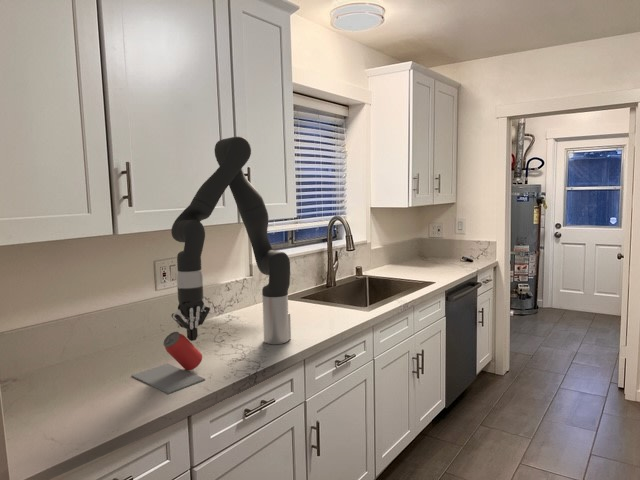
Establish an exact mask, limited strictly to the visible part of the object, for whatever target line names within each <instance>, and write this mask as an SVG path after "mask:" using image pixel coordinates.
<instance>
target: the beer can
mask: <svg viewBox="0 0 640 480" xmlns="http://www.w3.org/2000/svg"><path fill="white" fill-rule="evenodd" d="M163 346H164V348H165V351H166V352H167V353H168V354H169V355H170V357H172V358H173V359H174V360H175V361H176V362H177V363H178V364H179V365H180V366H181V367H182V368H183V370H185V371H192V370H194V369H196V368H197V367H198V366H199V365H200V364H201V363H202V361H203V355H202V353H201V352H200V351H199V350H198V349H197V347H196V346H195V345H194V344H193V343H192V341H190V340H189V339H188V338H187V336H185V335H184V334H182V333H180V332H179V331H173V332H171V333H169V334H168V335H166V337H165V338H164V340H163Z"/></svg>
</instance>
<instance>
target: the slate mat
mask: <svg viewBox="0 0 640 480" xmlns="http://www.w3.org/2000/svg"><path fill="white" fill-rule="evenodd" d="M131 377H132V378H134V379H136V380H139V381H140V382H143V383H144V384H146V385H149V386H150V387H153V388H155V389H157V390H159V391H161V392H163V393H165V394H168V395H170V394H173V393H176V392H178V391H181V390H183V389H185V388H188V387H190V386H191V387H192V386H193V385H196V384H199V383H200V382H203V381H205V380H206V378H204V377H201V376H200V375H197V374H195V373H193V372H190V371H188V370H185V369H184V368H183V369H182V368H180V367H177V366H175V365H173V364H170V363H165V364H162V365H161V364H160V365H157V366H154V367H152V368H149V369H146V370H144V371H140V372H136V373H134V374H131Z"/></svg>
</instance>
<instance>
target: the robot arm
mask: <svg viewBox="0 0 640 480" xmlns="http://www.w3.org/2000/svg"><path fill="white" fill-rule="evenodd" d="M251 155H252V148H251V144H250V142H249V141H248V140H247V138H245V137H243V136H231V137H227V138H222V139H220V140H218V141H216V143H215V145H214V157H215V159H216V162H217V164H218V168H217V169H216V170H215V171H214V172H213V173H212V174H211V175H210V176H209V177H208V178H207V180H205V181H204V182H203V183H202V185H200V187H199V189H198V190H197V191H196V193H195V195H194V196H193V199H192V200H191V201H190V204H189V205H188V206H187V207H186V208H185V209H183V211H182V212H181V213H180V214H179V215H178V216H177V217H176V219H175V220H174V222H173V223H172V226H171V231H170V232H171V236H172V238H173V240H175V241H176V242H179V243H184V245H183V250H181V251H179V252H178V254H177V255H176V256H177V257H176V261H177V262H176V263H177V275H176V286H177V300H178V306H177V310H176V311H175V313H171V318H172V319H173V320H174V321H175V322H176V323H177V324H178V326H180V327H181V328H183V329H186V335H187V336H186V338H187V339H188V340H189V341H190V342H195V341H197V338H198V335H199V334H198V328H199V326H200V325H201V326H202V325H203V323H204V322H205V320H206V318H207V317H208V315H209V313H210V311H211V308H210V306H206V305H205V303H204V300H203V299H204V283H203V282H204V281H203V280H204V279H203V273H202V272H203V271H202V253H203V248H204V243H205V239H206V230H205V227H204V225H203V223H202V221H204V220H206V219H208V218H210V216H211V215H212V213H213V212H214V210H215V208H216V206H217V205H218V203H219V201H220V200H221V197H222V195H223V194H224V192H225V191H226V190H227V189H228V186H229V189H230V192H231V194H232V196H233V198H234V201H235V204H236V207H237V210H238V213H239V215H240V218H241V220H242V223H243V226H244V228H245V230H246V233H247V236H248V239H249V241H250V245H251V248H252V252H253V256H254V259H255V263H256V267H257V269H258V270H259V272H260V273H261V274H263V275H266V276H268V284H267V285H264V286H263V287H262V289H261V290H262V292H261V293H262V319H263V321H262V323H263V327H262V328H263V342H264V343H265V344H269V345H282V344H285V343H288V342H289V341H290V340H291V339H292V333H291V332H292V330H291V329H292V327H291V314H290V313H289V293H288V292H289V288H290V285H291V261H290V258H289V256H288V254H287V253H286V252H283V251H280V250H275V249H273V247H272V245H271V242H270V239H269V236H268V230H269V229H268V228H269V227H268V226H269V213H268V209H267V206H266V204H265V201H264V199H263V197H262V195H261V194H260V193H259V190H257V189H256V188H255V187H254V186H253V184H252V183H251V182H250V181H249V180H248V178H247V177H246V175H245V173H244V171H243V167H244V166H245V165H246V164H247V163H248V161H249V160H250V157H251Z"/></svg>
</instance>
